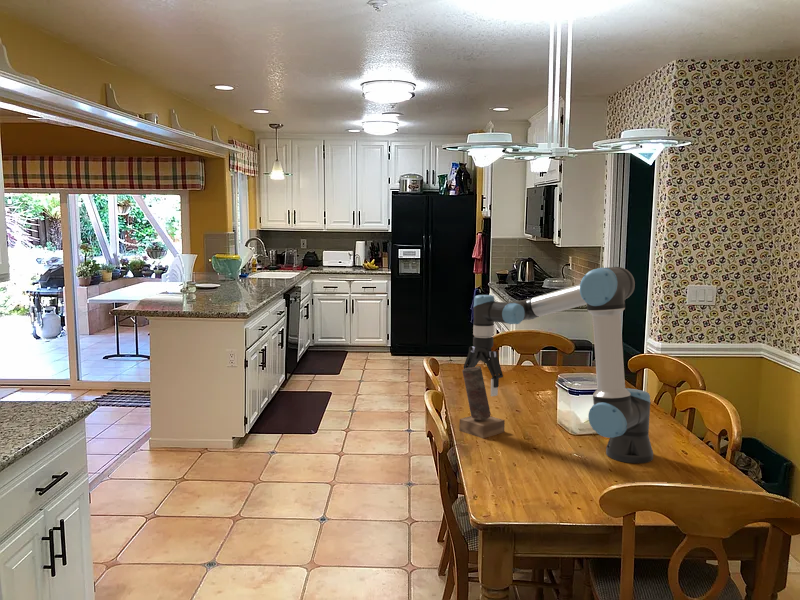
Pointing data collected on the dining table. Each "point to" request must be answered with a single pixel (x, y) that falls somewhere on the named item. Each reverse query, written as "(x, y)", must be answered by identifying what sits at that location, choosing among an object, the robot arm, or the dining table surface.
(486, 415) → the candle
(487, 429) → the walnut block
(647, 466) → the dining table surface
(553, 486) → the dining table surface
